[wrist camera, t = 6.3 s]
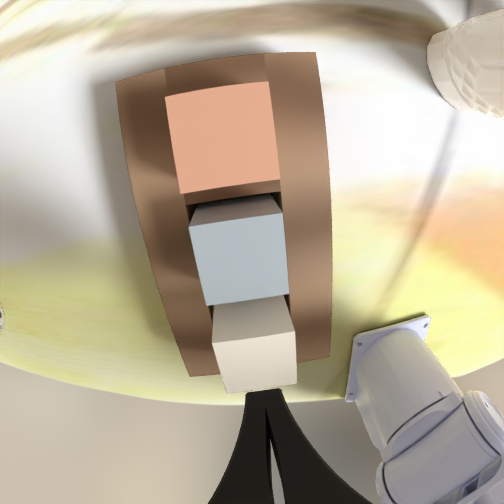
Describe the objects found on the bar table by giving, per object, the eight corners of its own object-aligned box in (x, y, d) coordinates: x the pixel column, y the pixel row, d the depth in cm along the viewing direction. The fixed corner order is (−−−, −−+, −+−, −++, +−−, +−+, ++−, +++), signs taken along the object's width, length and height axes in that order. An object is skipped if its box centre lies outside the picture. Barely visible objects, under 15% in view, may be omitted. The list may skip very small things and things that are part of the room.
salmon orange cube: (267, 167, 15) (280, 179, 11) (192, 178, 15) (180, 194, 11) (258, 94, 13) (268, 81, 10) (181, 106, 13) (165, 96, 9)
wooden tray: (318, 330, 22) (329, 356, 19) (193, 349, 22) (189, 376, 19) (301, 64, 14) (315, 52, 11) (133, 89, 14) (115, 82, 11)
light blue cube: (276, 258, 17) (289, 293, 14) (210, 268, 17) (206, 305, 14) (269, 193, 16) (282, 212, 12) (197, 204, 16) (188, 226, 12)
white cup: (409, 84, 15) (524, 75, 6) (426, 8, 12) (517, -23, 3) (477, 136, 16) (574, 159, 7) (490, 63, 13) (576, 64, 4)
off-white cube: (285, 339, 19) (297, 383, 15) (226, 348, 18) (226, 393, 15) (281, 289, 17) (294, 331, 13) (214, 298, 17) (211, 343, 13)
